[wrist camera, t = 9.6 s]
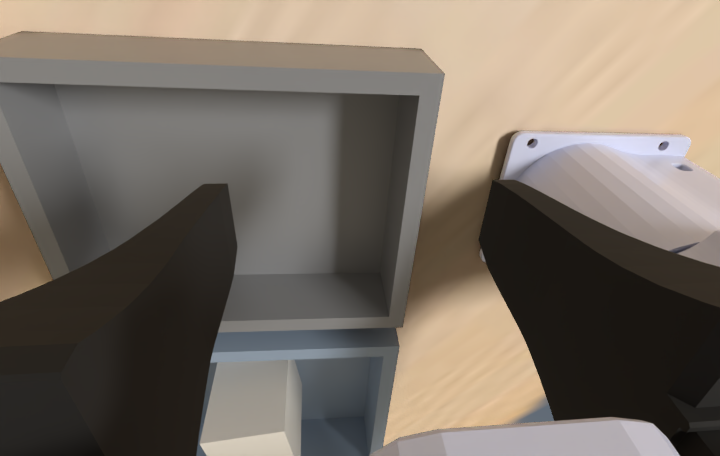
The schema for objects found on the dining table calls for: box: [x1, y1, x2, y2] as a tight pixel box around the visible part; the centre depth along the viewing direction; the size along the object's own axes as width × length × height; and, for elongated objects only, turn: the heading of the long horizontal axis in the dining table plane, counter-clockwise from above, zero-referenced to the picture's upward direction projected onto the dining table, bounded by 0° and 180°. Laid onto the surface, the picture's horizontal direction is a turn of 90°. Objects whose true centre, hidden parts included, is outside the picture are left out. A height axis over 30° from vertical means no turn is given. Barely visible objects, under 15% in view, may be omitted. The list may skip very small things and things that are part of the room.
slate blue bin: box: [196, 327, 399, 456], centre depth 28 cm, size 16×13×4 cm
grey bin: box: [0, 31, 445, 333], centre depth 20 cm, size 16×13×4 cm
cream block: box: [200, 360, 302, 456], centre depth 26 cm, size 4×4×6 cm
